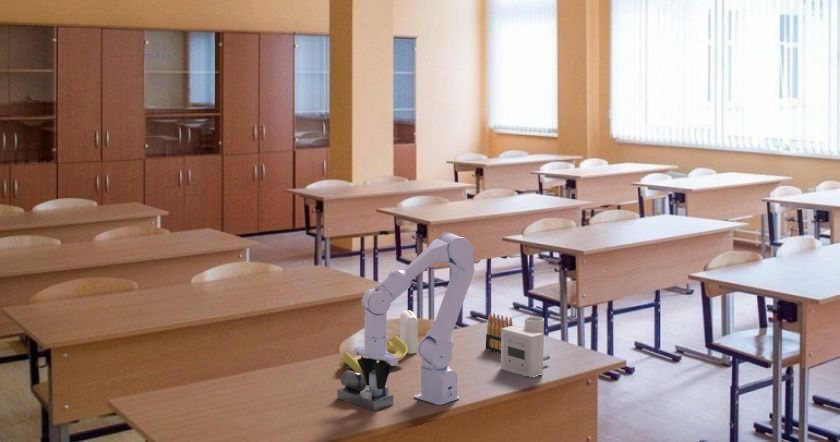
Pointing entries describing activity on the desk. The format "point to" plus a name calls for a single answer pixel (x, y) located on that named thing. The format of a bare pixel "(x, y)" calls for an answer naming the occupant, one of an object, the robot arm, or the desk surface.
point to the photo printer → (409, 330)
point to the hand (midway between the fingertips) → (375, 386)
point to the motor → (362, 392)
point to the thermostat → (523, 347)
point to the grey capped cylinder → (374, 384)
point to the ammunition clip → (495, 331)
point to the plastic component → (393, 347)
